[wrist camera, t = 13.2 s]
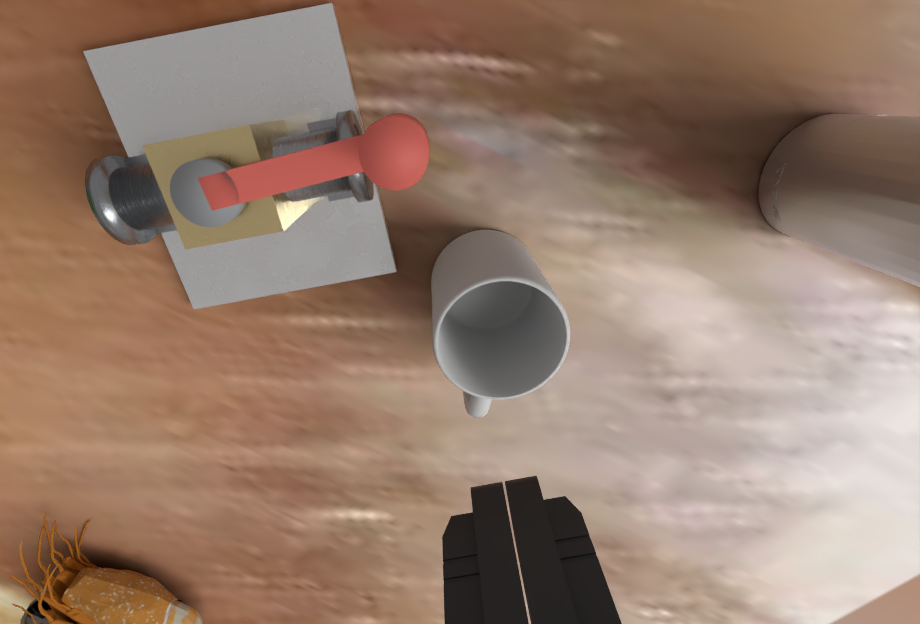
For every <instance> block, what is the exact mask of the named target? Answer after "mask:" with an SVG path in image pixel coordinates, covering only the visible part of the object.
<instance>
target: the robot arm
mask: <svg viewBox="0 0 920 624" xmlns="http://www.w3.org/2000/svg"><path fill="white" fill-rule="evenodd" d="M759 203H760V207H761V211H762V213H763V215H764V217H765V219H766V220H767V222H768V223H769V224H770V225H771V226H772V227H773V228H774V229H776V230H777V231H779V232H781V233H783V234H785V235H788V236H790V237H793V238H795V239H798V240H800V241H803V242H806V243H808V244H811V245H813V246H816V247H818V248H820V249H823V250H826V251H828V252H831V253H833V254H836V255H838V256H841V257H844V258H846V259H849V260H851V261H854V262H857V263H859V264H862V265H864V266H867V267H869V268H872V269H875V270H877V271H880V272H882V273H885V274H888V275H890V276H893V277H895V278H898V279H901V280H903V281H906V282H908V283H911V284H913V285H916V286H919V287H920V117H906V116H886V115H862V114H834V113H833V114H827V115H822V116H818V117H816V118H813V119H811V120H808V121H806V122H804V123H803V124H801V125H800V126H798V127H796V128H795V129H793V130H792V131H791V132H790V133H789V134H788V135H787V136H785V137H784V138H783V139H782V140H781V142H780V143H779V144H778V145H777V146H776V148H775V149H774V150H773V152H772V153H771V155H770V157H769V158H768V160H767V162H766V164H765V166H764V169H763V172H762V174H761V178H760V184H759ZM505 485H506V491H507V496H508V502H509V508H510V513H511V519H512V525H513V530H514V536H515V541H516V547H517V552H518V557H519V562H520V568H521V573H522V578H523V583H524V588H525V594H526V599H527V604H528V609H529V614H530V620H531V624H621V621H620V618H619V615H618V613H617V610H616V607H615V604H614V602H613V599H612V596H611V593H610V591H609V588H608V585H607V582H606V580H605V577H604V574H603V571H602V569H601V566H600V563H599V560H598V558H597V556H596V552H595V549H594V547H593V544H592V541H591V539H590V537H589V533H588V530H587V527H586V525H585V522H584V519H583V516H582V514H581V512H580V511H579V510H578V509H577V508H576V507H575V506H574V505H573V504H572V503H571V502H570V501H569V500H568V499H567V498H566V497H565V496H563V497H558V498H552V499H546V500H543V496H542V493H541V489H540V486H539V482H538V479H537V476H532V477H527V478H521V479H515V480H510V481H505ZM471 497H472V507H473V513H467V514H461V515H456V516H451V518H450V520H449V523H448V525H447V528H446V530H445V532H444V535H443V537H442V540H443V563H444V564H443V575H444V611H445V624H529V623H528V618H527V612H526V607H525V602H524V596H523V591H522V586H521V580H520V575H519V570H518V564H517V559H516V554H515V548H514V543H513V538H512V532H511V527H510V522H509V516H508V511H507V505H506V500H505V495H504V489H503V484H502V482H499V483H493V484H488V485H482V486H476V487H471Z"/></svg>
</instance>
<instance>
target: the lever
mask: <svg viewBox="0 0 920 624" xmlns="http://www.w3.org/2000/svg"><path fill="white" fill-rule="evenodd" d="M428 161H429V139H428V135H427V132H426V130H425V128H424V127H423V125H422V124H421V123H420V122H419V121H418V120H417V119H415V118H414V117H412V116H410V115H407V114H392V115H389V116H387V117H385V118H383V119H381V120H379V121H377V122H375V123H373V124H372V125H371V126H370V127H369V128H368V129H367V130H366V131H365V133H364V134H362V135H358V136H354V137H351V138H347V139H343V140H339V141H335V142H332V143H328V144H324V145H320V146H316V147H312V148H309V149H305V150H301V151H297V152H293V153H289V154H286V155H282V156H278V157H274V158H270V159H267V160H263V161H259V162H255V163H251V164H247V165H244V166H240V167H236V168H233V167H231V166H230V165H229V164H227V163H225V162H223V161H221V160H218V159H214V158H201V159H197V160H193V161H189V162H186V163H184V164H182V165H181V166H180V167H178V168H177V169H176V171H175V172H174V174H173V176H172V178H171V181H170V194H171V198H172V201H173V203H174V205H175V207H176V208H177V210H178V211H179V212H180V213H181V214H182V215H183V216H184V217H185V218H186V219H187V220H189V221H190V222H192V223H194V224H196V225H199V226H203V227H210V228H211V227H219V226H222V225H224V224H226V223H228V222H230V221H231V220H233V219H234V218H236V217H237V216H238V215H239V214H240V213H241V212H242V211H243V209H244V207H245V204H246V202H248V201H252V200H256V199H260V198H264V197H268V196H272V195H275V194H279V193H283V192H287V191H291V190H295V189H299V188H303V187H306V186H310V185H314V184H318V183H322V182H326V181H330V180H334V179H337V178H341V177H345V176H349V175H353V174H357V173H361V172H364V173H365V174H366V176H367V177H368V178H369V179H370V180H371V181H372V182H373V183H375V184H376V185H378V186H380V187H382V188H384V189H388V190H403V189H406V188H409V187H411V186H413V185H414V184H416V183H417V182H418V181H419V180H420V179H421V178H422V176H423V175H424V173H425V171H426V168H427V165H428Z"/></svg>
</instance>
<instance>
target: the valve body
mask: <svg viewBox="0 0 920 624" xmlns="http://www.w3.org/2000/svg"><path fill="white" fill-rule="evenodd" d="M83 52H84V55H85V57H86V59H87V62H88V64H89V66H90V69H91V71H92V73H93V76H94V78H95V80H96V83H97V85H98V87H99V90H100V92H101V94H102V97H103V99H104V101H105V104H106V106H107V108H108V111H109V113H110V115H111V118H112V120H113V122H114V125H115V127H116V129H117V132H118V134H119V136H120V139H121V141H122V143H123V146H124V148H125V150H126V153H127V155H128V158H124V157H122V156H119V155H111V156H106V157H101V158H97V159H95V160H93V161H92V162H91V163H90V165H89V166H88V169H87V172H86V177H85V187H86V193H87V197H88V201H89V204H90V206H91V209H92V211H93V213H94V215H95V217H96V218H97V220H98V221H99V223H100V224H101V226H102V227H103V228H104V229H105V230H106V232H107V233H108V234H109V235H111V236H112V237H113V238H114V239H116V240H117V241H119V242H121V243H123V244H127V245H136V244H141V243H146V242H149V241H151V240H153V239H154V237H155V236H156V234H159V233H161V234H162V237H163V239H164V241H165V244H166V246H167V248H168V251H169V253H170V255H171V258H172V260H173V262H174V265H175V267H176V269H177V272H178V274H179V276H180V279H181V281H182V283H183V286H184V288H185V290H186V293H187V295H188V297H189V300H190V302H191V304H192V307H193V309H199V308H204V307H209V306H215V305H220V304H226V303H231V302H237V301H242V300H247V299H253V298H258V297H264V296H269V295H275V294H280V293H285V292H291V291H296V290H302V289H307V288H313V287H318V286H323V285H329V284H334V283H340V282H345V281H351V280H356V279H361V278H367V277H372V276H378V275H383V274H389V273H394V272H397V265H396V261H395V257H394V252H393V248H392V244H391V240H390V235H389V231H388V227H387V223H386V219H385V214H384V210H383V206H382V202H381V198H380V193H379V189H378V185H376V184H375V183H373V182H372V181H371V180H370V179H369V178H368V177H367V176H366V174H365V173H364V172H361V173H357V174H353V175H349V176H345V177H341V178H337V179H334V180H330V181H326V182H322V183H318V184H314V185H310V186H306V187H303V188H299V189H295V190H291V191H287V192H283V193H279V194H275V195H272V196H268V197H264V198H260V199H256V200H252V201H248V202H246V204H245V207H244V209H243V211H242V212H241V213H240V214H239V215H238V216H237V217H236V218H234V219H233V220H231V221H230V222H228V223H226V224H224V225H222V226H219V227H211V228H210V227H203V226H199V225H196V224H194V223H192V222H190V221H189V220H187V219H186V218H185V217H184V216H183V215H182V214H181V213H180V212H179V211H178V210H177V208H176V207H175V205H174V203H173V201H172V198H171V194H170V181H171V178H172V176H173V174H174V172H175V171H176V169H177V168H178V167H180V166H181V165H182V164H184V163H186V162H189V161H193V160H197V159H201V158H214V159H218V160H221V161H223V162H225V163H227V164H229V165H230V166H231V167H233V168H236V167H240V166H244V165H247V164H251V163H255V162H259V161H263V160H267V159H270V158H274V157H278V156H282V155H286V154H289V153H293V152H297V151H301V150H305V149H309V148H312V147H316V146H320V145H324V144H328V143H332V142H335V141H339V140H343V139H347V138H351V137H354V136H358V135H362V134H364V133H365V130H364V126H363V122H362V118H361V113H360V109H359V105H358V101H357V97H356V92H355V88H354V84H353V80H352V76H351V71H350V67H349V63H348V59H347V55H346V50H345V46H344V42H343V38H342V33H341V29H340V25H339V21H338V17H337V12H336V8H335V5H334V4H333V3H328V4H323V5H318V6H313V7H308V8H303V9H297V10H292V11H287V12H282V13H277V14H272V15H267V16H262V17H256V18H251V19H246V20H241V21H236V22H231V23H226V24H221V25H215V26H210V27H205V28H200V29H195V30H190V31H185V32H179V33H174V34H169V35H164V36H159V37H154V38H149V39H144V40H138V41H133V42H128V43H123V44H118V45H113V46H108V47H102V48H97V49H92V50H87V51H83Z"/></svg>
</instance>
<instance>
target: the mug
mask: <svg viewBox="0 0 920 624" xmlns="http://www.w3.org/2000/svg"><path fill="white" fill-rule="evenodd" d="M431 293H432V339H433V349H434V354H435V357H436V360H437V363H438V365H439V367H440V369H441V370H442V372H443V373H444V375H445V376H446V377H447V378H448V379H449V380H450V381H451V382H452V383H453V384H454V385H455V386H456V387H458V388H459V389H461V390H463V395H464V403H465V408H466V410H467V412H468V414H469V415H471V416H473V417H482V416H485V415H486V414H487V412H488V410H489V407H490V404H491V400H492V399H493V400H502V399H511V398H516V397H519V396H523V395H525V394H528V393H530V392H532V391H534V390H536V389H538V388H539V387H541V386H542V385H543V384H545V383H546V382H547V381H548V380H549V379H551V377H552V376H553V375H554V374H555V373H556V372H557V370H558V369H559V368H560V366H561V365H562V363H563V361H564V359H565V356H566V354H567V351H568V347H569V342H570V326H569V321H568V317H567V314H566V312H565V309H564V307H563V305H562V303H561V302H560V300H559V298H558V297H557V295H556V294H555V292H554V290H553V289H552V287H551V286H550V284H549V283H548V281H547V279H546V278H545V276H544V275H543V273H542V272H541V270H540V268H539V267H538V265H537V264H536V262H535V260H534V258H533V256H532V255H531V253H530V252H529V250H528V249H527V248H526V247H525V246H524V245H523V244H522V243H521V242H520V241H519V240H517V239H516V238H514V237H513V236H511V235H509V234H506V233H504V232H500V231H496V230H477V231H472V232H469V233H466V234H464V235H461V236H459V237H458V238H456V239H454V240H453V241H452V242H451V243H449V244H448V245H447V246H446V247H445V248H444V249H443V251H442V252H441V253H440V255H439V257H438V258H437V260H436V262H435V265H434V268H433V272H432V278H431Z"/></svg>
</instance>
